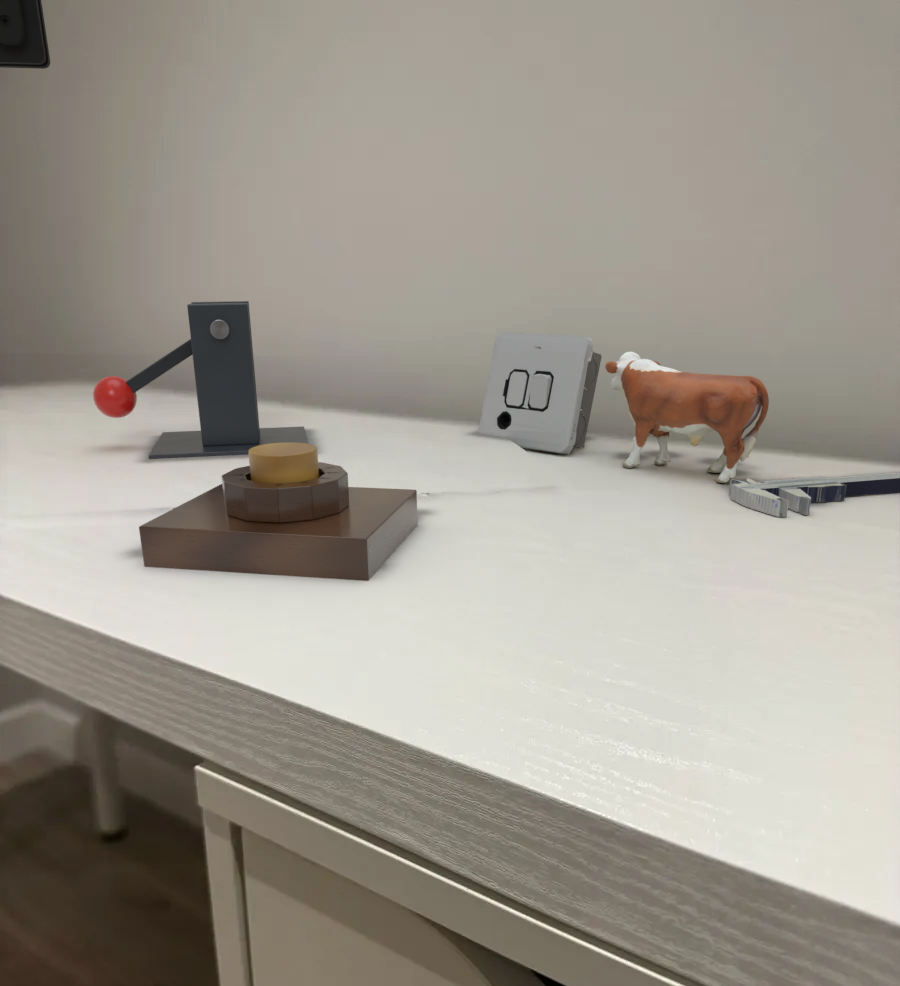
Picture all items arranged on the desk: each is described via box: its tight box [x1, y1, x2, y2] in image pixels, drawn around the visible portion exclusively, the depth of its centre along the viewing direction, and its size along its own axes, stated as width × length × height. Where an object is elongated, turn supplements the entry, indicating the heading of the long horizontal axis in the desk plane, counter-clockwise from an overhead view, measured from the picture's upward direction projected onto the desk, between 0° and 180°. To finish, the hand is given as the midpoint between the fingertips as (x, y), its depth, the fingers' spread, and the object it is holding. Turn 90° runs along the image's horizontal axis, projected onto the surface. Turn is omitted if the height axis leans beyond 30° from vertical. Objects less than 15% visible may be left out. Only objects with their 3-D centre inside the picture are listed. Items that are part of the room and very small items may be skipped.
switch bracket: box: [148, 300, 309, 460], centre depth 70 cm, size 12×10×12 cm
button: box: [248, 443, 319, 483], centre depth 47 cm, size 4×4×2 cm
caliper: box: [728, 472, 900, 518], centre depth 59 cm, size 20×1×6 cm
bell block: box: [138, 461, 418, 582], centre depth 48 cm, size 12×10×4 cm
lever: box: [92, 338, 193, 419], centre depth 69 cm, size 13×3×3 cm, turn 102°
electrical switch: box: [477, 331, 602, 455], centre depth 73 cm, size 9×5×9 cm, turn 49°
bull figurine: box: [604, 351, 770, 484], centre depth 64 cm, size 4×13×8 cm, turn 41°
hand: (17, 64), depth 49 cm, fingers closed
